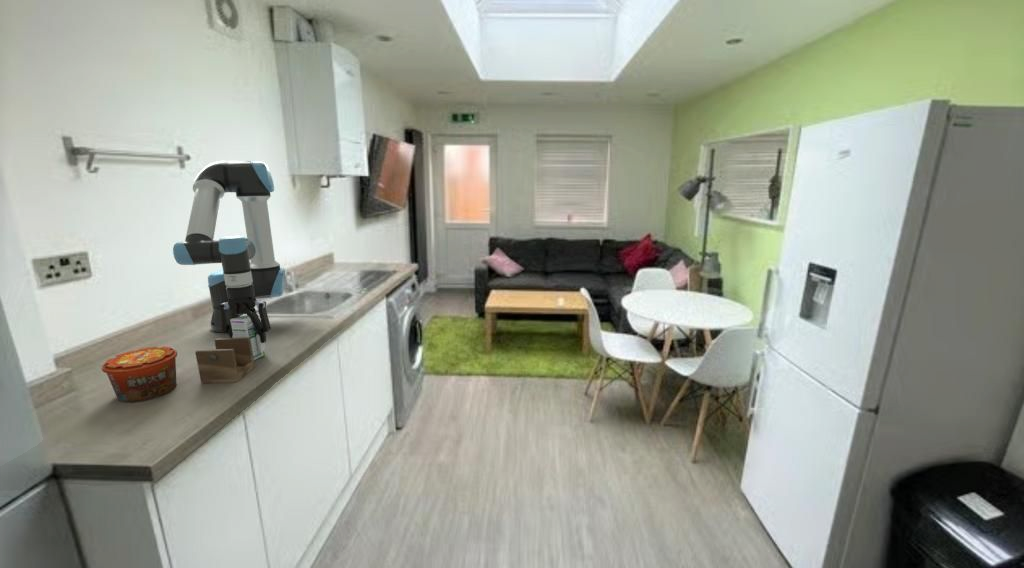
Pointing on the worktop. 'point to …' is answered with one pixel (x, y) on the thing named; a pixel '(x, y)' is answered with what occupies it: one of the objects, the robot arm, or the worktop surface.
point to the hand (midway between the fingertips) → (250, 352)
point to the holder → (226, 360)
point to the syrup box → (246, 332)
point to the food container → (142, 373)
